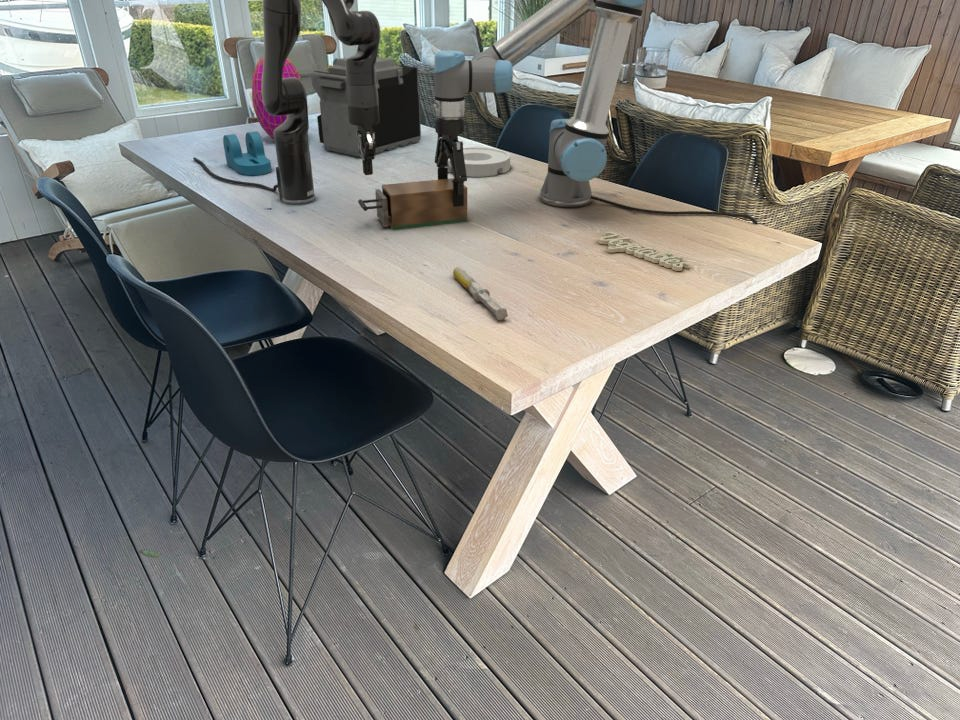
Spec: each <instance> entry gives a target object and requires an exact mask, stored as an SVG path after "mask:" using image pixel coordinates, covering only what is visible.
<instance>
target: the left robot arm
mask: <svg viewBox="0 0 960 720" xmlns="http://www.w3.org/2000/svg"><path fill="white" fill-rule="evenodd" d="M321 2H322V3H323V5H324V6H325V8H326V10H327V14H328V16H329V20H330V22H331V26H332V30H333V32H334V35H335V37H336V38H337V39H338V40H339V41H340V42H341V43H342V44H343V45H345V46H347V47H348V46H349V47H353V46H357V48H356V52H355V53H354V54H352V55H351V56H349V57H346V58H347V60H346V79H347V104H348V116H349V123H350V124H352V125H356V126H358V131H356V138H357V143H358V148H359V153H360V155H361V157H360V158H361V161H362V172H363V175H364V176H371V175H373V174H374V169H373V160H375V156H376V154H375V149H376V142H375V141H374V139H375V133H374V132H372V125H376V124H378V123H379V122H380V117H379V101H378V90H377V85H376V70H375V63H376V58H378V51H379V47H380V46H379V45H380V41H381V26H380V21H379V19H378V17H377V16H376V15H375V14H374V12H372V11H370V10H355V11H350V9H351V8H352V7H353V6H354V4H355V0H321ZM262 24H263V25H262V26H263V57H264V61H263V75H262V101H263V105H264V108H265V110H266V111H267V113H268V114H270V115H272V116H281V115H287V118H286V120H285V121H284V122H283V123H282V124H281V125H280V126H278V127H277V128H276V129H275V130H274V139H273V140H274V148H275V154H276V161H277V166H276V167H275V175H276V181H277V183H276V184H274V185H273V187H269V186H267V185H264V184H261V183H255V182H247V181H240V180H234V179H230V178H226V177H222V176H220V175H217V174H215V173H214V172H212V171H211V170H210V168H209V167H207V165H206V164H205V163H204V162H203V161H202V160H200V159H198V158H196V156H195V157H193V161H195V162H197V163H198V164H200V165H201V166H202V168H203V169H204V170H205V171H206V172H207V174H209V175H210V176H212V177H213V178H215V179H217V180H219V181H222V182H226V183H230V184H235V185H241V186H250V187H257V188H261V189H264V190H266V191H269V192H276V191H277V192H278V196H279V201H282V202H283V203H285V204H290V205H303V204H308V203H312V202H313V201H315V200H316V193H315V187H314V177H313V168H312V160H311V159H312V158H311V152H310V151H311V150H310V142H309V141H310V140H309V128H310V125H309V124H310V122H309V108H308V107H309V105H308V96H307V91H306V88H305V86H304V83H303V81H302V80H301V81H302V82H301V81H300V80H299V79H298V78H295V77H290V78H282V75H283V68H284V64H285V61H286V59H288V57H289V55H290V53H291V51H292V50H293V48H294V46H295V44H296V42H297V41H298V38H299V36H300V33H301V28H302V3H301V0H262Z"/></svg>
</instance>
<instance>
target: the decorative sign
mask: <svg viewBox="0 0 960 720" xmlns="http://www.w3.org/2000/svg"><path fill="white" fill-rule="evenodd" d="M598 244H601V245H607V253H611V254H612V253H613V254H614V253H625V254H627V255H633V256H634V257H636V258H638V259H644V260H645V261H648V262H651V263H653V264H658V265H659V266H662V267H665V268H667V269H671V270H673V271H676V272H681V271H683V268H684V269H689V266H690V263H689V262H688V261H683V258H684V257H683V256H682V255H674V254H673V252H658V251H657V249H656V248H654V247H653V246H646V245H644V244H642V245H641V246H640V245H636V244H634V243H631V237H629V236H622V237H619V233H618V232H617V233H616V232H614V231H613V232H612V231H605V235H604V236H600V237H599V238H598Z"/></svg>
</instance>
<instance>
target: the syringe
mask: <svg viewBox="0 0 960 720" xmlns="http://www.w3.org/2000/svg"><path fill="white" fill-rule="evenodd" d="M452 274H453V277H454V279H455V280H457V281H458V282H459V283H460V285H462V287H464V289H466V290H467V291H468V293H470V295H471V296H472V298H473V300H474V302H477V303H478V302H480V303H482V304H483V305H484V306H485V307H486V308H487V309H488V310H489V311H490V312H491V313H492V314H493V315H494V316H495V317H496V320H497V321H503V320H504V319H506V318H507V317H509V314H508V310H507V308H506V307H502V306H501V305H500V303H498V302H497V301H496V300H494V299H493V298H492V297H491V296H490V295H491V293H490V290H488V289H486V288H483V287H482V286H481V285H480V284H479V283H478V282H477V281H476V280H474V278H473V277H471V275H469V274H468V273H467V272H466V270H465V269H464V268H463V267H462V266H456V267H454V268H453V271H452Z"/></svg>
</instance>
